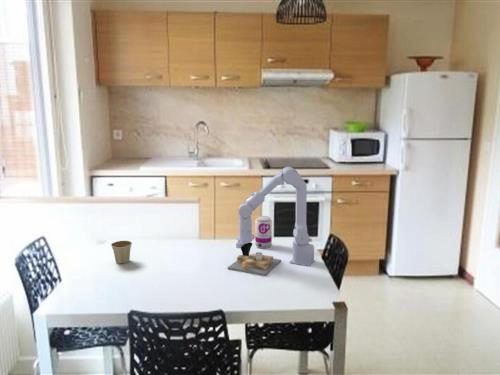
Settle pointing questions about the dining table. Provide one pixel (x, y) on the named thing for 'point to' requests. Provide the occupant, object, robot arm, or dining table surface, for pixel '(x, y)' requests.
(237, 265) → the base plate
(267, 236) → the supplement can
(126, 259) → the flower pot
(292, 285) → the dining table surface
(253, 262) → the wooden beam assembly
